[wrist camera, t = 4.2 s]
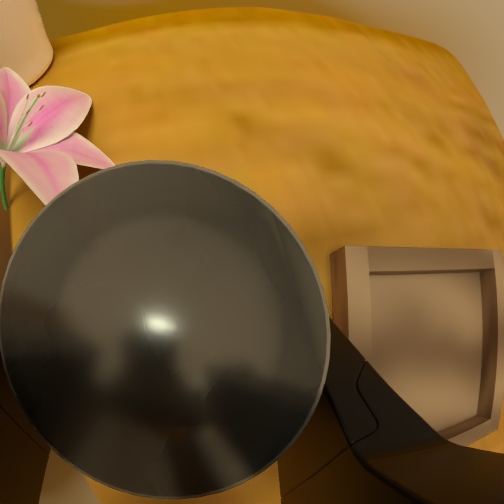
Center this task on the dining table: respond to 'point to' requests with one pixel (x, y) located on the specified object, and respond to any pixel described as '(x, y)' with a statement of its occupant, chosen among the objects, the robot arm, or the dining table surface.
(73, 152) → the lily
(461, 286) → the taupe tray
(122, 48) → the dining table surface
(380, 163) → the dining table surface
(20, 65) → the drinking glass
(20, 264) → the polished metal cylinder
